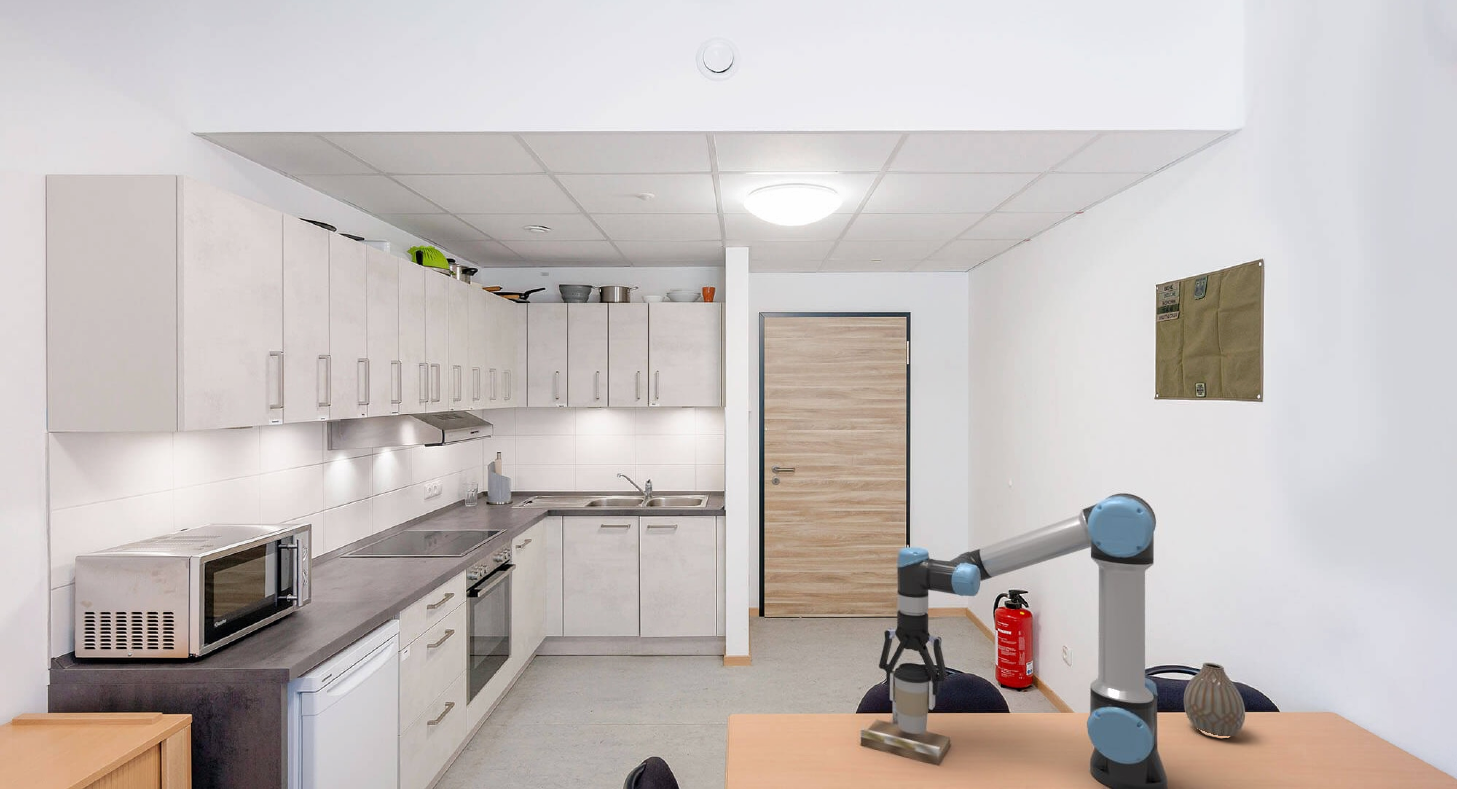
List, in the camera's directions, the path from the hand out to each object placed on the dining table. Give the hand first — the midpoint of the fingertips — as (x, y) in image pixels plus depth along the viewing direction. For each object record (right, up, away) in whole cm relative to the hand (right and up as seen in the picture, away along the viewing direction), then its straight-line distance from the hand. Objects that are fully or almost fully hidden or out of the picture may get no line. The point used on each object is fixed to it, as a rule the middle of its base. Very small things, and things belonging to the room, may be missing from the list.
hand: (912, 702), depth 171 cm
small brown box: (-2, -10, 0) cm, 11 cm away
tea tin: (0, -11, +12) cm, 16 cm away
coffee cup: (0, -6, 0) cm, 6 cm away
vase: (+81, -12, +9) cm, 82 cm away
